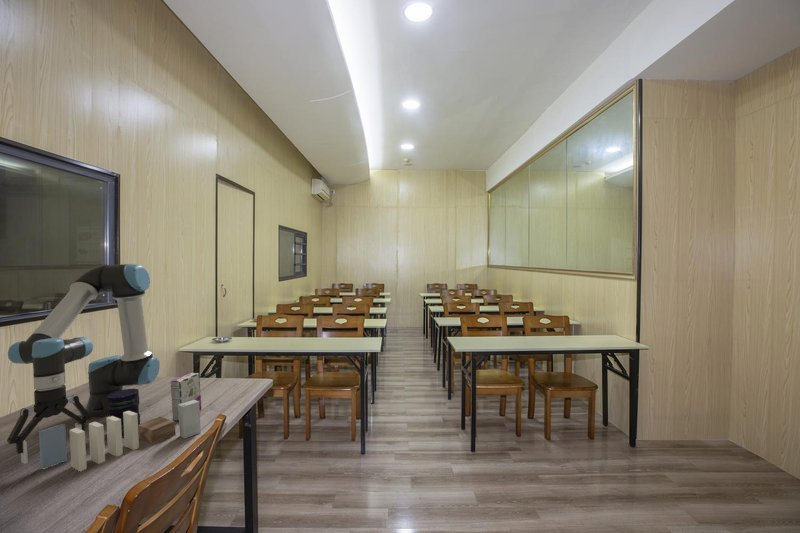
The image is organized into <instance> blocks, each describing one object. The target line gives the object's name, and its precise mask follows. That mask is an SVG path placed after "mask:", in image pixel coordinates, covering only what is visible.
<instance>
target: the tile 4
mask: <svg viewBox="0 0 800 533" xmlns="http://www.w3.org/2000/svg"><path fill="white" fill-rule="evenodd" d="M123 422H124V436H123V437H124V438H123V439H124V442H123V443H124V447H126V448H129V449H130V450H132V451H133V450H134V451H135V450H136V449H139V448H140V442H139V440H140V439H139V438H138V417H137V413H134V412H131V411H126V412H123Z"/></svg>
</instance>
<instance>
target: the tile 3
mask: <svg viewBox="0 0 800 533" xmlns="http://www.w3.org/2000/svg"><path fill="white" fill-rule="evenodd" d="M105 422H106V437H107V439H106V440H107V441H106V442H107V453H108V454H111V455H112V456H114V457H119V456H122V455H124V454H123V437H122V431H121V419H119V418H117V417H114V416H111V417H109V416H108V417H107V416H106V421H105Z"/></svg>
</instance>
